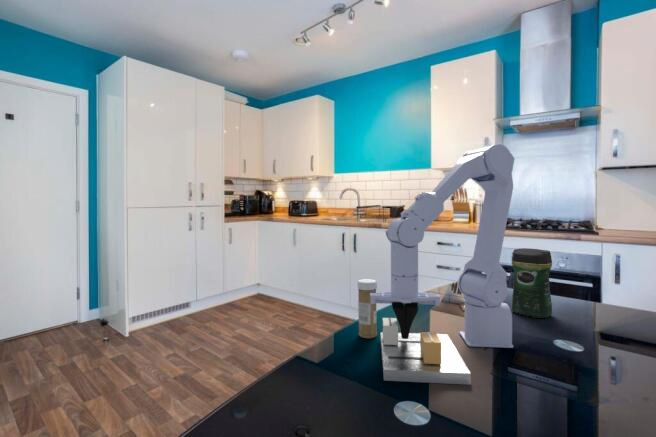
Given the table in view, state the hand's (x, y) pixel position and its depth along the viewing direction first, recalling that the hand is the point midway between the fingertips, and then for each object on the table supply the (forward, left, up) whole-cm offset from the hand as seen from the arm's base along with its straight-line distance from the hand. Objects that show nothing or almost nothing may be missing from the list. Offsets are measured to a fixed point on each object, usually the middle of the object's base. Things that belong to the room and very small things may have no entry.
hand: (404, 337), depth 74 cm
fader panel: (-3, +4, -3) cm, 6 cm away
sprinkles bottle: (+8, -8, -3) cm, 12 cm away
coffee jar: (-38, -28, -3) cm, 47 cm away
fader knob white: (+3, 0, -1) cm, 3 cm away
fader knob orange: (-4, +8, -1) cm, 9 cm away
